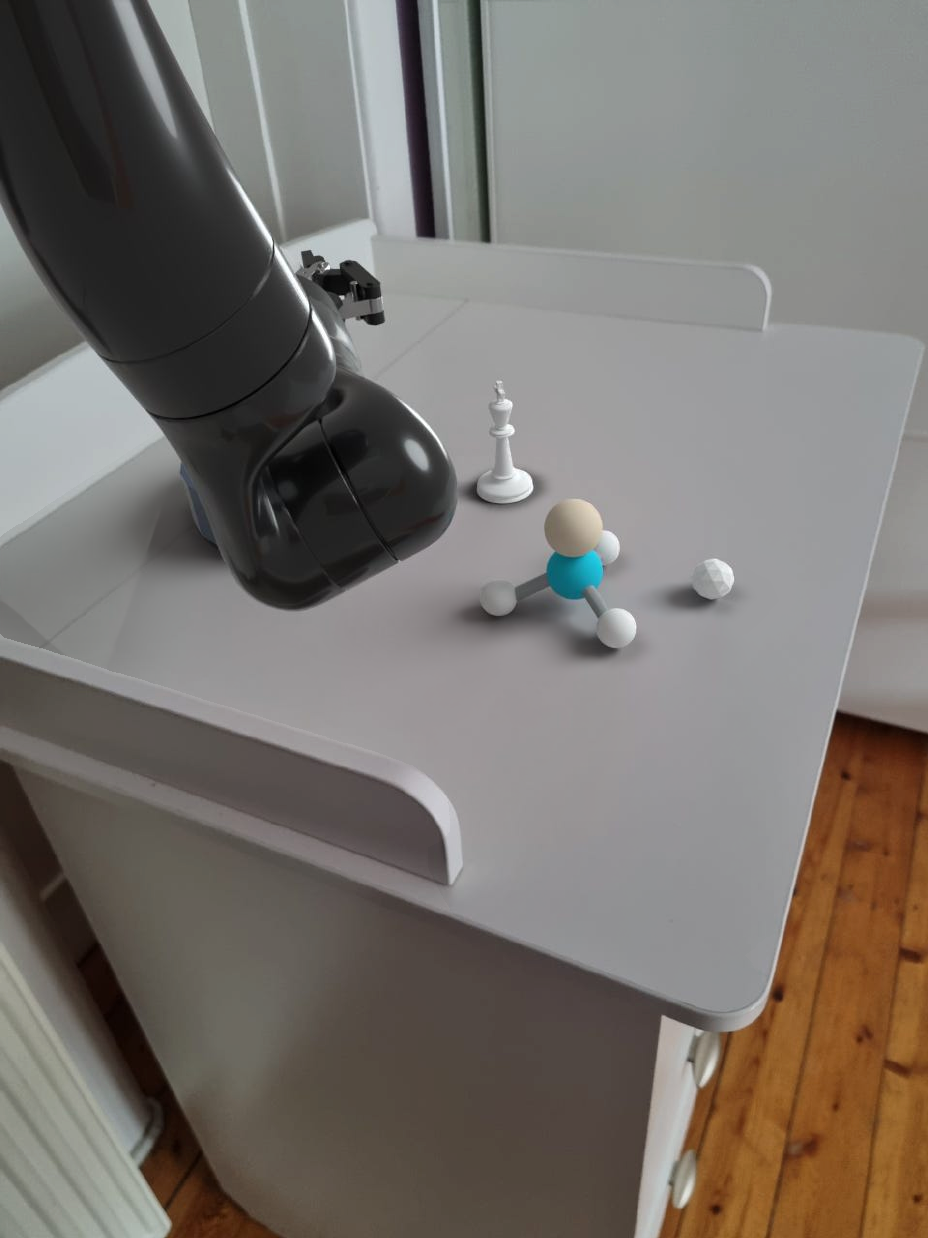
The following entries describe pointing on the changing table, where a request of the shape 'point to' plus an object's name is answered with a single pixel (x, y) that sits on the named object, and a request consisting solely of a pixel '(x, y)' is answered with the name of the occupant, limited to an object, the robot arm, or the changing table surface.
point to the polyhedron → (712, 578)
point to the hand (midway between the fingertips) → (260, 272)
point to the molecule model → (571, 570)
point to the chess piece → (503, 458)
